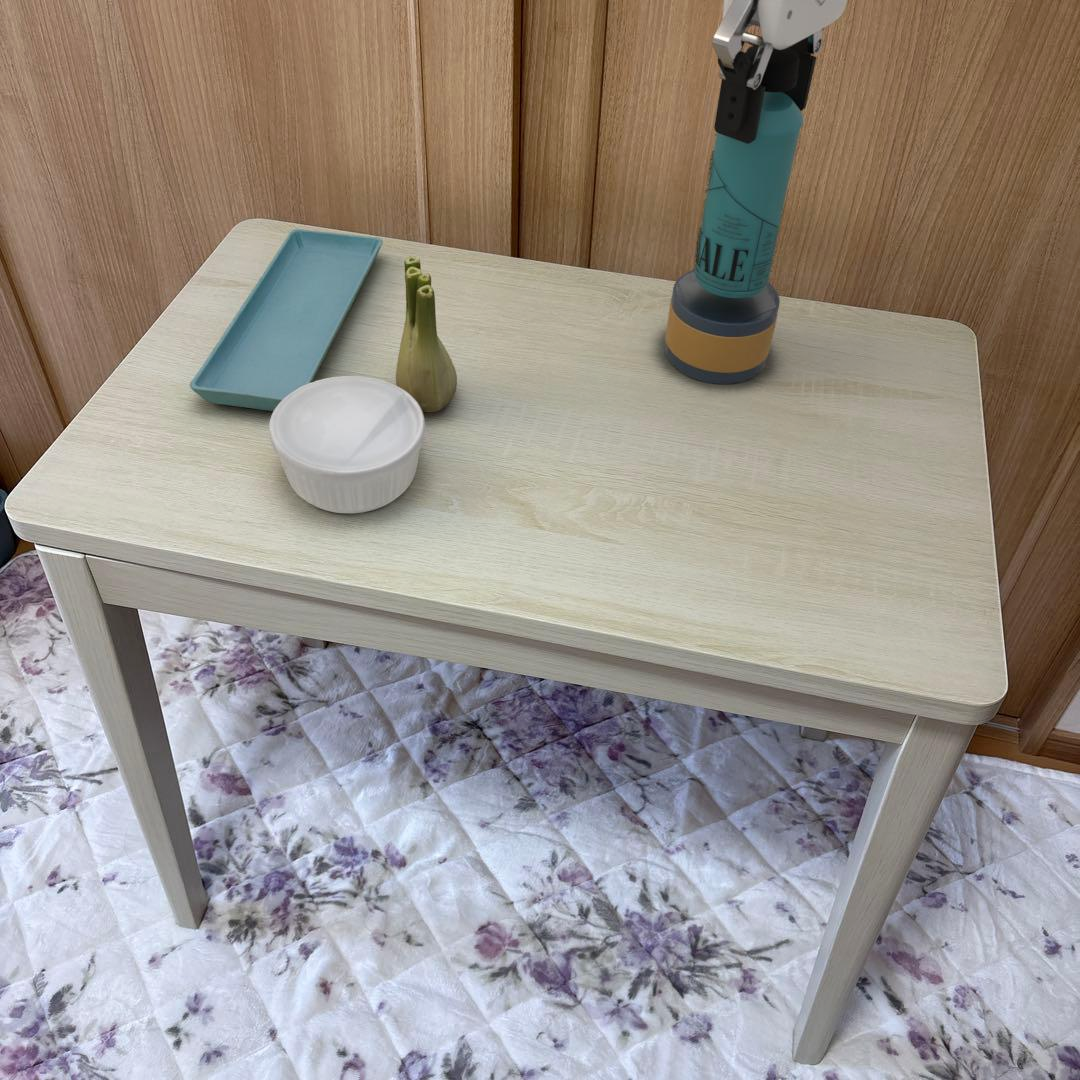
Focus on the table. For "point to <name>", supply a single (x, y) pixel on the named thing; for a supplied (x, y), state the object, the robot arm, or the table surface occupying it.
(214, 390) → the shallow long dish
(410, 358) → the fennel bulb
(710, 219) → the beverage bottle
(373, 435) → the ramekin
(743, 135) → the robot arm
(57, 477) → the table surface
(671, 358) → the tin can
